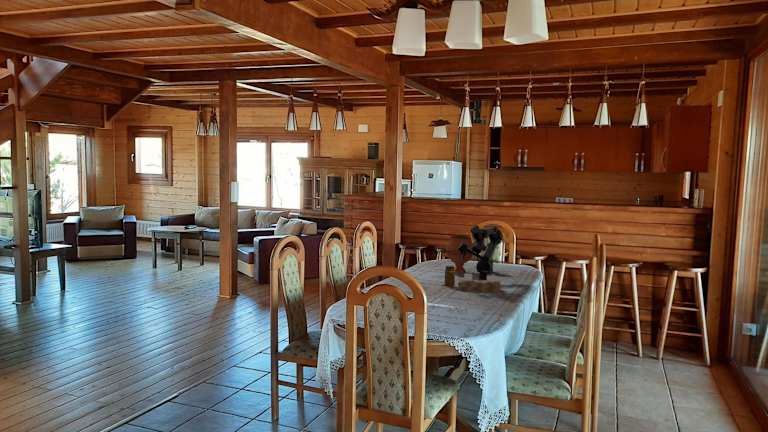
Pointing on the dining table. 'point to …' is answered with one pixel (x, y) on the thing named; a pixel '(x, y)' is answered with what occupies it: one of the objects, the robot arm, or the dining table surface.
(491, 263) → the milk carton
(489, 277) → the peg
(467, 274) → the peg
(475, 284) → the housing
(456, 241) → the goblet
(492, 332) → the dining table surface
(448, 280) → the condiment
